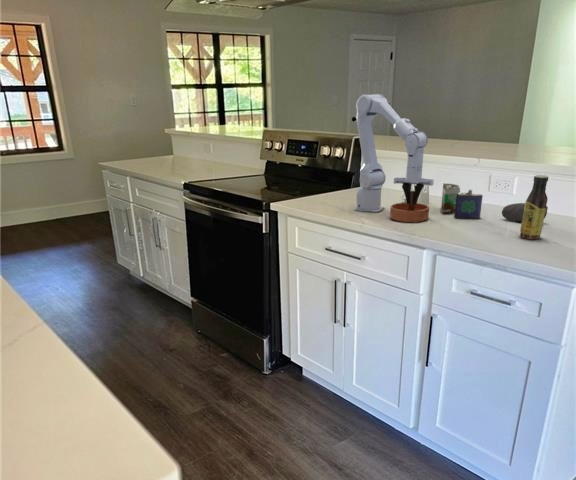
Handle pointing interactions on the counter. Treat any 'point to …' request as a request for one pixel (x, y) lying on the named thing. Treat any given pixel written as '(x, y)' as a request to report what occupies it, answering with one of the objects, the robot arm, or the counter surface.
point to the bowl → (409, 212)
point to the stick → (411, 201)
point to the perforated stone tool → (515, 212)
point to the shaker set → (422, 197)
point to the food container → (449, 198)
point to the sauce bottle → (535, 209)
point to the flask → (468, 205)
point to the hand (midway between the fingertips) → (411, 203)
